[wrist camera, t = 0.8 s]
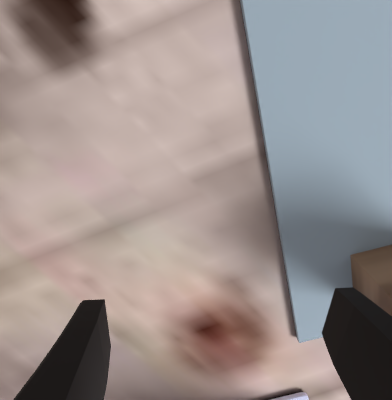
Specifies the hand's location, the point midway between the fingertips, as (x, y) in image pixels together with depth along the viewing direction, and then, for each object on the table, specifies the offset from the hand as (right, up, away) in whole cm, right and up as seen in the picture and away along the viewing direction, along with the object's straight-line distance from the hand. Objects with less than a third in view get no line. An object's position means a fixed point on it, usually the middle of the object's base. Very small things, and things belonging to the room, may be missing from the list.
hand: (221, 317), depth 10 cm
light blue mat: (+11, +5, +11) cm, 16 cm away
